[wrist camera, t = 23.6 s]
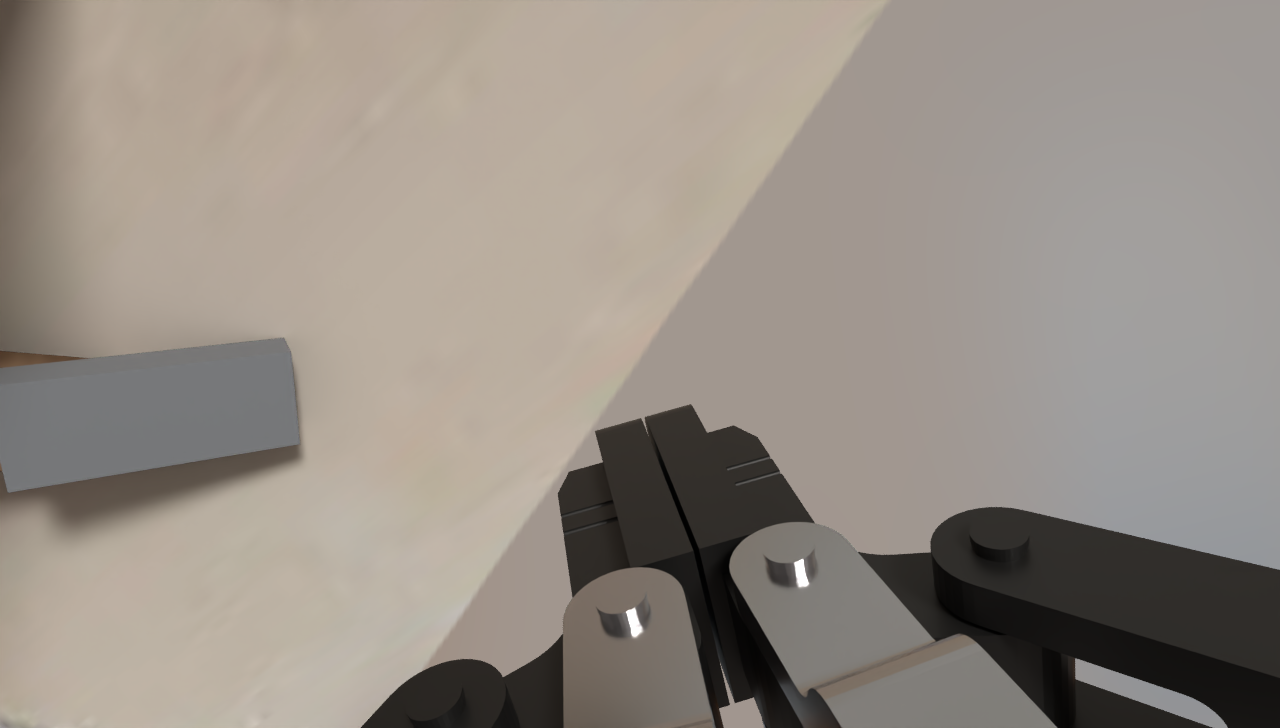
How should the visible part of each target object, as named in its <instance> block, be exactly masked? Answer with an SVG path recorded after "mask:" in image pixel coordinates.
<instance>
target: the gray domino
mask: <svg viewBox="0 0 1280 728" xmlns="http://www.w3.org/2000/svg"><path fill="white" fill-rule="evenodd" d="M298 444H300V440H299V429H298V419H297V409H296V399H295V388H294V378H293V368H292V358H291V351H290V349H289V347H288V345H287V343H286V341H285V339H284V338H277V339H268V340H259V341H249V342H240V343H230V344H221V345H212V346H202V347H193V348H184V349H174V350H165V351H155V352H146V353H137V354H127V355H118V356H108V357H99V358H90V359H80V360H71V361H62V362H52V363H43V364H33V365H24V366H15V367H5V368H0V463H1V467H2V471H3V475H4V479H5V484H6V488H7V492H8V493H9V492H15V491H21V490H27V489H33V488H39V487H45V486H51V485H57V484H63V483H69V482H75V481H81V480H87V479H93V478H99V477H105V476H111V475H117V474H123V473H129V472H135V471H142V470H148V469H154V468H160V467H166V466H172V465H178V464H184V463H190V462H196V461H202V460H208V459H214V458H220V457H226V456H232V455H238V454H244V453H250V452H256V451H262V450H268V449H274V448H280V447H286V446H292V445H298Z"/></svg>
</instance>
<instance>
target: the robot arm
mask: <svg viewBox="0 0 1280 728" xmlns="http://www.w3.org/2000/svg"><path fill="white" fill-rule="evenodd" d="M645 423H646V427H647V432H648V434H647V432H646V429H645V426H644V424H643V421H642V419H641V418H640V419H637V420H633V421H629V422H626V423H622V424H619V425H615V426H611V427H608V428H604V429H601V430H597V431H595V433H596V437H597V440H598V445H599V448H600V452H601V456H602V460H603V463H599V464H595V465H592V466H589V467H585V468H581V469H578V470H574V471H570V472H569V473H568V475H567V477H566V479H565V481H564V483H563V485H562V487H561V488H560V491H559V492H558V498H559V505H560V513H561V517H562V527H563V532H564V541H565V547H566V555H567V562H568V569H569V576H570V583H571V590H572V597H573V598H572V600H571V601H570V603H569V604H568V606H567V608H566V610H565V613H564V618H563V634H562V635H561V637H560V638H559V639H558V640H557V641H556V643H554V644H553V645H552V646H551V647H550V648H549V649H548V650H547V651H546V652H545V653H543V654H542V655H541V656H539V657H538V658H536V659H534V660H533V661H531V662H530V663H528V664H526V665H525V666H523V667H521V668H519V669H517V670H516V671H514V672H512V673H510V674H509V675H507V676H505V677H502V675H501V673H500V672H499V671H498V670H497V669H496V668H495V667H493V666H492V665H490V664H488V663H486V662H483V661H479V660H473V659H461V660H453V661H448V662H444V663H441V664H438V665H435V666H433V667H430V668H428V669H426V670H424V671H422V672H420V673H418V674H417V675H415V676H413V677H412V678H410V679H409V680H408V681H406V682H405V683H404V684H402V685H401V686H400V687H399V688H398V689H397V690H396V691H395V692H394V693H393V694H392V695H391V696H390V697H389V698H388V699H387V700H386V701H385V702H384V703H383V704H382V705H381V706H380V707H379V708H378V710H377V711H376V712H375V713H374V714H373V715H372V716H371V717H370V718H369V719H368V720H367V721H366V723H365V724H364V725H363V726H362V727H361V728H724V727H723V724H722V719H721V715H720V711H719V708H721V707H724V706H728V705H730V703H729V699H728V696H727V691H726V687H725V683H724V678H723V674H722V670H721V666H722V669H723V671H724V674H725V677H726V680H727V683H728V685H729V688H730V691H731V693H732V696H733V699H734V702H735V703H737V702H740V701H743V700H747V699H750V698H753V697H754V699H755V701H756V704H757V706H758V709H759V711H760V714H761V716H762V721H763V725H764V728H1212V727H1209V726H1206V725H1203V724H1200V723H1198V722H1195V721H1192V720H1189V719H1186V718H1183V717H1181V716H1178V715H1175V714H1172V713H1169V712H1166V711H1164V710H1161V709H1158V708H1155V707H1152V706H1149V705H1147V704H1144V703H1141V702H1138V701H1135V700H1132V699H1129V698H1127V697H1124V696H1121V695H1118V694H1115V693H1113V692H1110V691H1107V690H1104V689H1101V688H1098V687H1096V686H1093V685H1090V684H1087V683H1084V682H1081V681H1078V680H1076V679H1075V658H1077V659H1080V660H1083V661H1086V662H1089V663H1092V664H1095V665H1098V666H1101V667H1104V668H1107V669H1110V670H1113V671H1116V672H1119V673H1122V674H1125V675H1127V676H1131V677H1134V678H1137V679H1140V680H1142V681H1146V682H1148V683H1151V684H1154V685H1157V686H1160V687H1163V688H1166V689H1169V690H1172V691H1175V692H1178V693H1181V694H1184V695H1186V696H1189V697H1192V698H1194V699H1196V700H1198V701H1200V702H1201V703H1203V704H1205V705H1206V706H1208V707H1209V708H1210V709H1212V710H1213V711H1214V712H1216V714H1218V715H1219V716H1220V717H1221V718H1222V720H1223V721H1224V722H1225V724H1226V725H1227V727H1228V728H1280V570H1277V569H1273V568H1269V567H1264V566H1260V565H1256V564H1252V563H1247V562H1243V561H1239V560H1234V559H1230V558H1226V557H1221V556H1217V555H1213V554H1209V553H1204V552H1200V551H1196V550H1191V549H1187V548H1183V547H1178V546H1175V545H1170V544H1166V543H1161V542H1157V541H1153V540H1149V539H1145V538H1140V537H1136V536H1132V535H1127V534H1123V533H1119V532H1114V531H1110V530H1106V529H1102V528H1097V527H1093V526H1089V525H1084V524H1080V523H1076V522H1071V521H1067V520H1063V519H1059V518H1054V517H1050V516H1046V515H1041V514H1037V513H1032V512H1028V511H1024V510H1019V509H1014V508H1002V507H988V508H978V509H973V510H968V511H965V512H962V513H959V514H957V515H954V516H952V517H950V518H948V519H947V520H946V521H944V522H943V523H941V525H939V526H938V527H937V529H936V530H935V532H934V533H933V535H932V538H931V553H914V554H898V555H875V554H866V553H860V552H857V551H856V550H855V548H854V547H853V546H852V545H851V544H850V543H849V542H848V540H847V539H846V538H844V537H843V536H842V535H841V534H840V533H838V532H837V531H835V530H833V529H831V528H829V527H826V526H823V525H819V524H815V523H814V521H813V520H812V518H811V517H810V515H809V514H808V512H807V511H806V509H805V508H804V506H803V505H802V503H801V502H800V500H799V499H798V497H797V496H796V494H795V493H794V491H793V490H792V488H791V487H790V485H789V484H788V482H787V481H786V479H785V478H784V476H783V475H782V474H780V471H779V469H778V467H777V466H776V464H775V463H774V461H773V460H772V459H770V456H769V454H768V452H767V451H766V450H765V448H764V446H763V445H762V443H761V442H760V440H759V439H758V437H756V436H754V435H752V434H750V433H747V432H746V431H744V430H742V429H740V428H738V427H736V426H730V427H727V428H723V429H720V430H716V431H713V432H709V433H707V432H706V430H705V428H704V426H703V425H702V423H701V421H700V419H699V417H698V415H697V414H696V412H695V410H694V408H693V406H692V405H691V404H690V405H687V406H683V407H679V408H676V409H672V410H668V411H665V412H661V413H658V414H655V415H651V416H647V417H645ZM648 436H649V437H648ZM720 663H721V665H720Z"/></svg>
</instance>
